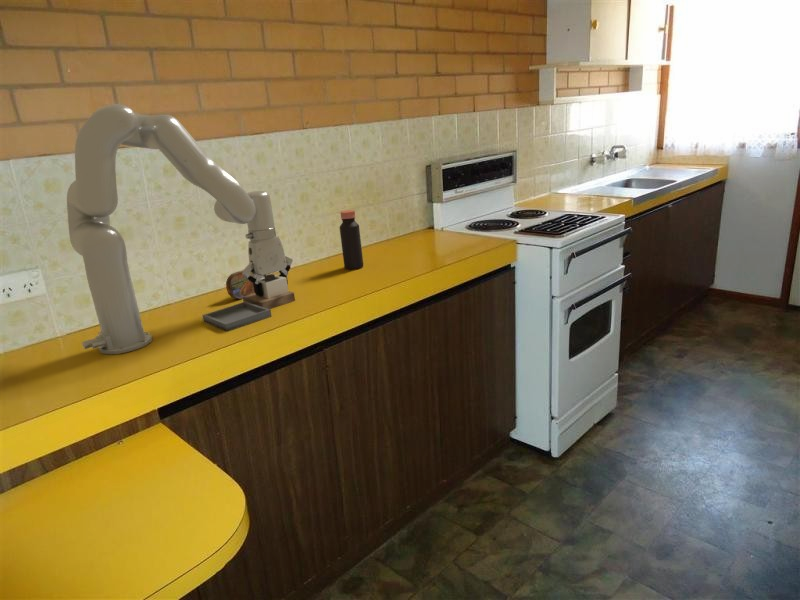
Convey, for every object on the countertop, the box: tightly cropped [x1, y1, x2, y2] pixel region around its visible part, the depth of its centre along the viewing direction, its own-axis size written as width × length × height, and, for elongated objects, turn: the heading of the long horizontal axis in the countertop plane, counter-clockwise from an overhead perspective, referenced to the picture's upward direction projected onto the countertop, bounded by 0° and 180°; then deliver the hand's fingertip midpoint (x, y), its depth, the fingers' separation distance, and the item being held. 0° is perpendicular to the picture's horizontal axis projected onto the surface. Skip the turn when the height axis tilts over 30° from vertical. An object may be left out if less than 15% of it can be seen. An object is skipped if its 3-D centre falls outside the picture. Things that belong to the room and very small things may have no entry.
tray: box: [201, 301, 272, 332], centre depth 159 cm, size 14×14×2 cm
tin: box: [225, 268, 266, 300], centre depth 181 cm, size 15×3×8 cm, turn 148°
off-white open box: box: [259, 274, 289, 298], centre depth 171 cm, size 7×7×4 cm
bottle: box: [339, 209, 364, 271], centre depth 200 cm, size 7×7×20 cm
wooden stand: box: [242, 273, 296, 310], centre depth 171 cm, size 11×11×8 cm
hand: (272, 291), depth 172 cm, fingers open, 8 cm apart
